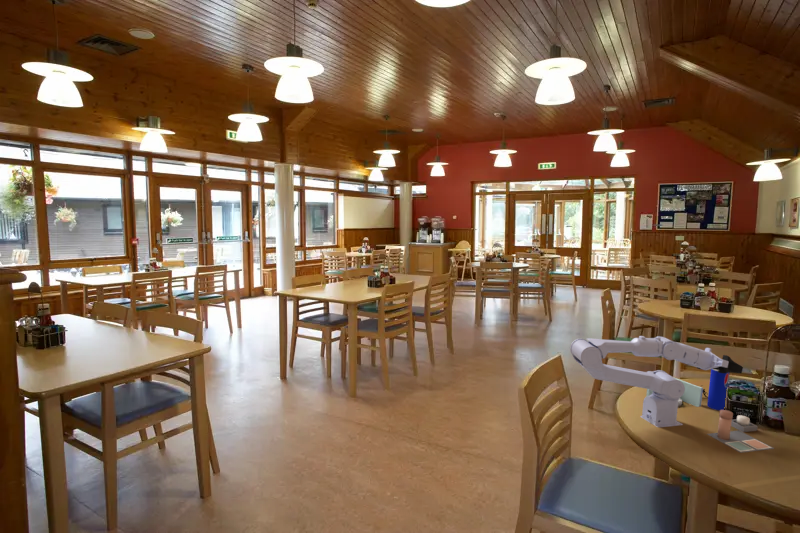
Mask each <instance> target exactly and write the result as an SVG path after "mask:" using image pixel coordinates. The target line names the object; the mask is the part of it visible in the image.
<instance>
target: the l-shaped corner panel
mask: <svg viewBox="0 0 800 533" xmlns="http://www.w3.org/2000/svg"><path fill="white" fill-rule="evenodd" d="M672 377H673V378H675V379H677V380H679V381H681V382H682V383H683V384H684V387H685V391H684V394H683V395H682V396H681V397H680V398H679V400H678V408H679V407H681V406H682V405H683V402H684V403H687V404H689V405H691V406H694V407H696V408H701V407H702V400H703V399H702V398H703V389H704V388H703V386H698V385H695V384H693V383H690V382H687V381H685V380H682V379H680V378H676V377H674V376H672ZM652 393H653V391H652V390H650V389H646V396H645V397H647V396H650V395H651V394H652Z"/></svg>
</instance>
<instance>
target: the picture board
mask: <svg viewBox="0 0 800 533" xmlns="http://www.w3.org/2000/svg"><path fill="white" fill-rule="evenodd" d="M706 435H708V436H710V437H712V438H713V439H715V440H717V441H719V442H720V443H722V444H724V445H725V446H728V447H729V448H731V449H733V450H735V451H736V452H738V453H740V454H741V453H749V452H758V451H764V450H765V451H766V450H767V451H768V450H774V449H775V447H773V446H770V445H769V444H767V443H765V442H763V441H760V440H759V439H757V438H754V437H753V436H750V435H749V434H747V433H746V432H742V431H740V430H738V429H737V430H731V431H730V439H729V440H723V439H720V438H718V437H717V435H718V432H713V433H712V432H711V433H706Z"/></svg>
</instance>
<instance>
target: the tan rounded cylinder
mask: <svg viewBox="0 0 800 533" xmlns="http://www.w3.org/2000/svg"><path fill="white" fill-rule="evenodd" d="M718 416H719V419H718V426H717V427H718V428H717V433H718V435H717V437H718V438H720V439H723V440H729V439H730V431H732V429H731V428H732V426H731V422H732V420H733V418H734V417H733V416H734V413H733V412H732V411H731V410H727V409H725V410H719V415H718Z"/></svg>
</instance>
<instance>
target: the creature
mask: <svg viewBox="0 0 800 533" xmlns="http://www.w3.org/2000/svg"><path fill="white" fill-rule="evenodd" d="M702 395H703V396H704V397H705V398H704V397H702V400H703V399H708V392H706V389H705V388H703V393H702Z"/></svg>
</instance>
